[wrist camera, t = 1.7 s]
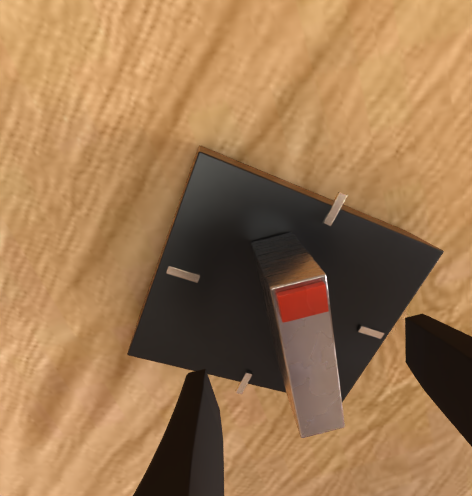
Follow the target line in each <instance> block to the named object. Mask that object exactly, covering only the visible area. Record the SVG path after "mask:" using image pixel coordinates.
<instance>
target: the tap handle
mask: <svg viewBox="0 0 472 496" xmlns="http://www.w3.org/2000/svg"><path fill="white" fill-rule="evenodd" d="M251 245H252V250H253V254H254V259H255V263H256V268H257V272H258V277H259V281H260V286H261V291H262V295H263V300H264V304H265V309H266V313H267V318H268V322H269V327H270V331H271V336H272V340H273V345H274V349H275V354H276V358H277V363H278V367H279V370H280V373H281V376H282V380H283V383H284V386H285V389H286V392H287V395H288V399H289V402H290V405H291V408H292V411H293V414H294V418H295V421H296V424H297V427H298V430H299V434H300V436H301V438H305V437H309V436H313V435H316V434H320V433H324V432H328V431H332V430H336V429H340V428H344V427H345V424H344V415H343V407H342V399H341V391H340V383H339V375H338V366H337V358H336V350H335V342H334V334H333V326H332V317H331V309H330V301H329V293H328V285H327V276H326V274H325V273H324V271H323V270H322V269H321V268H320V266H319V265H318V264H317V263H316V261H315V260H314V259H313V258H312V257H311V255H310V254H309V253H308V252H307V250H306V249H305V248H304V247H303V246H302V244H301V243H300V242H299V241H298V239H297V238H296V237H295V236H294V235H293V233H292V232H290V233H286V234H282V235H278V236H274V237H270V238H266V239H262V240H258V241H254V242H251Z"/></svg>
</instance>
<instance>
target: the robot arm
mask: <svg viewBox="0 0 472 496" xmlns="http://www.w3.org/2000/svg"><path fill="white" fill-rule="evenodd" d="M405 334H406V363H407V365H408V367H409V368H410V370H411V371H412V373H413V374H414V376H415V377H416V379H417V380H418V382H419V383H420V385H421V386H422V388H423V389H424V390H425V392H426V393H427V394H428V395H429V396H430V398H431V399H432V400H433V401H434V402H435V404H436V405H437V406H438V407H439V408H440V410H441V411H442V412H443V413H444V414H445V416H446V417H447V418H448V419H449V420H450V421H451V423H452V424H453V425H454V426H455V427H456V429H457V430H458V431H459V432H460V433H461V434H462V436H463V437H464V438H465V439H466V440H467V442H468V443H469V444H470V445H471V446H472V337H471V336H469V335H467V334H465V333H463V332H461V331H459V330H456V329H454V328H452V327H450V326H448V325H446V324H444V323H442V322H440V321H437V320H435V319H433V318H431V317H429V316H426V315H424V314H419V315H415V316H411V317H407V318H405ZM133 496H224V457H223V435H222V425H221V417H220V409H219V407H218V404H217V401H216V398H215V395H214V392H213V389H212V386H211V383H210V380H209V378H208V375H207V372H206V369H202V370H198V371H194V372H190V373H188V374H187V376H186V378H185V381H184V384H183V387H182V390H181V393H180V396H179V399H178V401H177V404H176V407H175V409H174V412H173V414H172V416H171V419H170V421H169V424H168V426H167V429H166V431H165V433H164V435H163V438H162V440H161V442H160V444H159V446H158V448H157V450H156V453H155V455H154V457H153V459H152V461H151V463H150V465H149V467H148V469H147V471H146V473H145V475H144V477H143V478H142V480H141V482H140V484H139V486H138V488H137V489H136V491H135V493H134V495H133Z"/></svg>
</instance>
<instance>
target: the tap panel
mask: <svg viewBox="0 0 472 496" xmlns="http://www.w3.org/2000/svg"><path fill="white" fill-rule="evenodd" d="M346 197H347V195H345V194H343V193H340V192H338V194H337V196H336V197H335V199H334V201H333V200H330V199H328V198H326V197H323V196H321V195H318V194H316V193H314V192H311V191H309V190H306V189H304V188H301V187H299V186H297V185H294V184H292V183H289V182H287V181H285V180H282V179H280V178H277V177H275V176H273V175H270V174H268V173H265V172H263V171H260V170H258V169H256V168H253V167H251V166H248V165H246V164H244V163H241V162H239V161H236V160H234V159H232V158H229V157H227V156H224V155H222V154H219V153H217V152H215V151H212V150H210V149H207V148H205V147H203V146H199V147H198V150H197V153H196V156H195V159H194V162H193V165H192V167H191V170H190V173H189V176H188V179H187V182H186V185H185V187H184V190H183V193H182V196H181V199H180V202H179V205H178V207H177V210H176V213H175V216H174V219H173V222H172V224H171V227H170V230H169V233H168V236H167V239H166V242H165V244H164V247H163V250H162V253H161V256H160V259H159V262H158V264H157V267H156V270H155V273H154V276H153V279H152V281H151V284H150V287H149V290H148V293H147V296H146V299H145V301H144V304H143V307H142V310H141V313H140V316H139V319H138V322H137V325H136V328H135V331H134V334H133V338H132V341H131V344H130V347H129V350H128V353H127V354H128V355H129V356H134V357H138V358H142V359H146V360H151V361H155V362H159V363H163V364H168V365H172V366H176V367H180V368H184V369H189V370H193V371H198V370H202V369H206V372H207V374H210V375H214V376H218V377H222V378H227V379H231V380H235V381H239V382H240V383H239V385H238V387H237V389H236V390H235V391H236V393H238V394H242V393H243V391H244V389H245V387H246V386H247V384H252V385H256V386H261V387H265V388H269V389H273V390H277V391H282V392H286V389H285V386H284V383H283V380H282V376H281V373H280V370H279V367H278V363H277V358H276V354H275V349H274V345H273V340H272V336H271V331H270V327H269V322H268V318H267V313H266V309H265V304H264V300H263V295H262V291H261V286H260V281H259V277H258V272H257V268H256V263H255V259H254V254H253V250H252V245H251V242H254V241H258V240H262V239H266V238H270V237H274V236H278V235H282V234H286V233H290V232H292V233H293V235H294V236H295V237H296V238H297V239H298V241H299V242H300V243H301V244H302V246H303V247H304V248H305V249H306V250H307V252H308V253H309V254H310V255H311V257H312V258H313V259H314V260H315V261H316V263H317V264H318V265H319V266H320V268H321V269H322V270H323V271H324V273H325V274H326V276H327V285H328V293H329V301H330V309H331V317H332V326H333V334H334V342H335V350H336V358H337V366H338V375H339V383H340V391H341V399H342V402H343V400H344V399H345V397H346V396H347V395H348V393H349V392H350V390H351V389H352V387H353V386H354V384H355V383H356V381H357V380H358V378H359V377H360V375H361V374H362V372H363V371H364V369H365V368H366V366H367V365H368V363H369V362H370V360H371V359H372V357H373V356H374V355H375V353H376V352H377V350H378V349H379V347H380V346H381V344H382V343H383V341H384V340H385V338H386V337H387V335H388V334H389V332H390V331H391V329H392V328H393V326H394V325H395V323H396V322H397V320H398V319H399V318H400V316H401V315H402V313H403V312H404V310H405V309H406V307H407V306H408V304H409V303H410V301H411V300H412V298H413V297H414V295H415V294H416V292H417V291H418V289H419V288H420V286H421V285H422V283H423V282H424V280H425V279H426V278H427V276H428V275H429V273H430V272H431V270H432V269H433V267H434V266H435V264H436V263H437V261H438V260H439V258H440V257H441V255H442V254H443V250H441V249H439V248H437V247H435V246H433V245H431V244H430V243H428V242H426V241H424V240H422V239H420V238H418V237H416V236H415V235H413V234H411V233H409V232H407V231H405V230H403V229H400V228H398V227H396V226H393V225H391V224H388V223H386V222H384V221H381V220H379V219H376V218H374V217H371V216H369V215H367V214H364V213H362V212H359V211H357V210H355V209H352V208H350V207H347V206H345V205H343V202H344V201H345V199H346ZM286 393H287V392H286Z"/></svg>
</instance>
